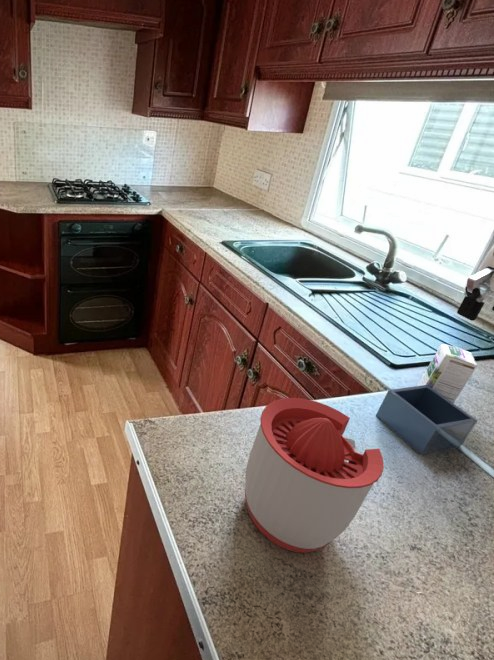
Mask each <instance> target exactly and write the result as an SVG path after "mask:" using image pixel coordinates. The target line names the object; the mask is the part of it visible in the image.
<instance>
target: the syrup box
mask: <svg viewBox="0 0 494 660" xmlns="http://www.w3.org/2000/svg"><path fill="white" fill-rule="evenodd" d="M475 359H476V358H475V357H474V354H473V353H472V352H470V351H468V350H466V349H463V348H460V347H457V346H453V345H450V344H445V343H441V344H440V345H439V347H438V348H437V351H436V353H435V354H434V356H433V358H432V359H431V360H430V362H429V364H428V366H427V368H426V370H425V371H424V373H423V375H422V377H421V378H420V380H419V381H418V383H417V385H416V386H421V385H428V386H429V387H431V388H432V389H434V390H435V391H436V392H438V393H439V394H441V395H442V396H444V397H445V398H446V399H448V400H449V401H451V402H452V403H453V404H455V402H456V400H457V399H458V397H459V396H460V394H461V392H462V391H463V389H464V388H465V387H466V385H467V383H468V382H469V380H470V378H471V377H472V376H473V374H474V372H475V370H476V369H477V367H478V363H477V361H476V360H475Z"/></svg>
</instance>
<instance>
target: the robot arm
mask: <svg viewBox="0 0 494 660" xmlns="http://www.w3.org/2000/svg"><path fill="white" fill-rule="evenodd" d="M464 290H465V292H464V294H463V296H464V298H463V299H462V301H461V303H460V305H459V307H458V309H457V311H456V314H458V315H459V316H461V317H462V318H465V319H467V320H469V321H472V322H473V321H476V320H477V318H478V316H479V314H480V312H481V310H482V309H483V307H484V306H485V302H484V301H485V300H486V299H487V298H488V297H489V296H490V295H491V294H493V293H494V244H492V246H491V247H490V249H489V251H488V252H487V254H486V255H485V257H484V259H483V260H482V262H481V264H480V265H479V267H478V269H477V271H476V273H474V274H472V275H470V276H469V277H468V278H467V280H466V286H465V288H464ZM481 290H482V291H483V292H482V293H481ZM491 310H492V311H493V312H494V305H492V308H491Z"/></svg>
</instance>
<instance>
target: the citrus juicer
mask: <svg viewBox="0 0 494 660" xmlns="http://www.w3.org/2000/svg"><path fill="white" fill-rule="evenodd" d="M259 418H260V423H259V427H258V430H257V433H256V436H255V439H254V441H253V443H252V446H251V450H250V452H249V457H248V460H247V464H246V466H245V477H244V481H245V482H244V498H245V502H246V506H247V507H246V508H247V510H248V511H247V512H248V514H249V516H250V519H251V520H252V522H253V524H254V525H255V527H256V528H257V530H259V531H260V533H261V534H262V535H263V536H264V537H266V539H268V540H269V541H271V542H272V543H273V544H275V545H276V546H278V547H281V548H283V550H284V549H285V550H287V551H291V552H295V553H299V554H302V553H310V552H314V551H317V550H320V549H323V548H325V547H326V546H328V545H329V544H330V543H331V542H332V541H334V540H335V539H337V538H338V537H340V536H341V534H343V533H344V532H345V531H346V529H348V527H349V525H350V524H351V523H352V521H353V520H354V519H355V517H356V515H357V514H358V512H359V510H360V508H361V507H362V505H363V503H364V501H365V500H366V497H368V494H369V492H370V491H371V489H372V487H373V485H374V484H375V483H376V482H378V481H379V479H380V478H381V477H382V475H383V471H384V467H385V466H384V457H383V455H382V452H381V450H380V448H369V449H367V448H366V449H365V450H364V452H361V451H360V449H359V448H358V447H357V446H356V441H355V440H354V439H353V438H351V437H350V438H349V437H344V436H343V435H344V434H345V431H346V428H347V426H348V424H349V421H350V419H351V417H349V416H348V415H347V414H344V413H343V412H341V411H340V410H338V409H335V408H333V407H332V406H329V405H327V404H325V403H322V402H320V401H316V400H311V399H308V398H302V397H283V398H279V399H276V400H273V401H271V402H270V403H268V404H267V405H266V406H265V408H264V409H263V410H262V411H261V414H260V417H259Z"/></svg>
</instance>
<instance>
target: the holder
mask: <svg viewBox="0 0 494 660" xmlns="http://www.w3.org/2000/svg"><path fill="white" fill-rule="evenodd" d="M375 417H377V418H378V419H379V420H380V421H381V422H382V423H384V424H385V426H387V427H388V428H389V429H390V430H391V431H392V432H394V433H395V434H396V435H397V436H399V438H400V439H402V440H403V441H404V442H405V443H406V444H407V445H408V446H409V447H410V448H412V449H413V450H414V451H415V452H416V453H417V454H418V455H420V456H424V455H428V454H429V455H430V454H433V453H439V452H443V451H448V450H452V449H453V450H454V449H458V448H461V447H462V445H463V444H464V442H465V441H466V439H467V438H468V436H469V435H470V433H471V432H472V430H474V427H475V426H476V424H477V423H478V420H477V419H476V418H475V417H473V416H472V415H470V414H469V413H468V412H467V411H464V410H463V409H462V408H461V407H459V406H458V405H457V404H455V403H452V402H451V401H449V400H448V399H446V398H445V397H444V396H442V395H441V394H439V393H438V392H436V391H435V390H434V389H432V388H431V387H429V386H428V385H421V386H417V385H414V386H408V387H400V388H392V389H388V391H387V393H386V394H385V396H384V398H383V401H382V402H381V404H380V406H379V408H378V410H377V412H376V414H375Z"/></svg>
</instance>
